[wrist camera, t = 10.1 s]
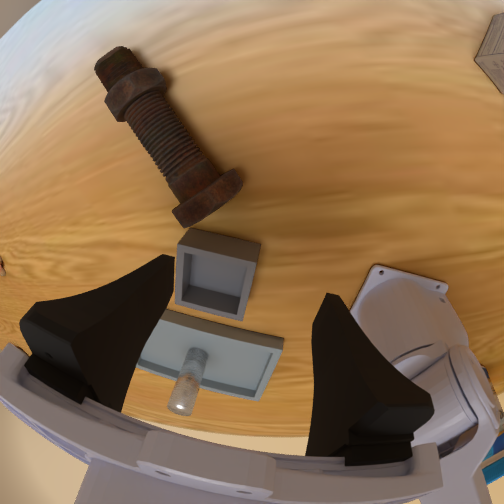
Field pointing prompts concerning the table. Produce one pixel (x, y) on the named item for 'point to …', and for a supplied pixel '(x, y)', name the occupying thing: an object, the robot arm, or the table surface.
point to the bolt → (164, 136)
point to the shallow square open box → (215, 273)
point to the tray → (213, 354)
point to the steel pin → (188, 382)
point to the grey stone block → (493, 52)
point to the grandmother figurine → (0, 269)
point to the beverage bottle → (494, 447)
